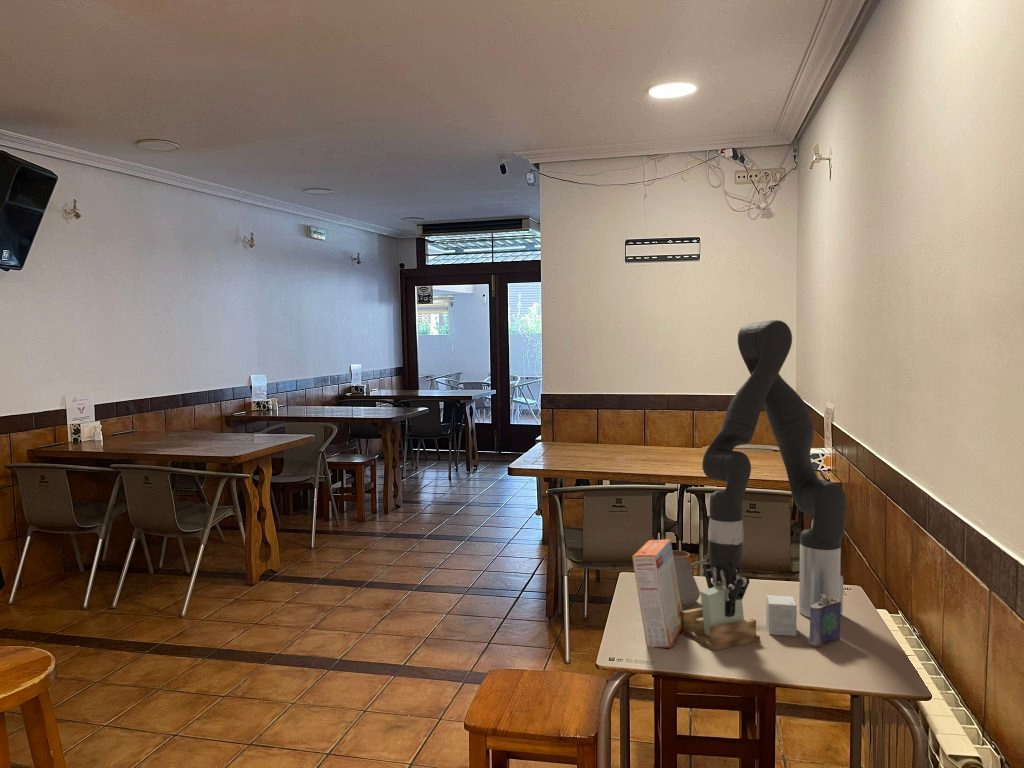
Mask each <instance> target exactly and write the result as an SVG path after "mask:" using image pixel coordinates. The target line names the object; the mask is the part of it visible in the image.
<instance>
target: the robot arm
mask: <svg viewBox="0 0 1024 768" xmlns="http://www.w3.org/2000/svg"><path fill="white" fill-rule="evenodd" d="M792 343H793V334H792V331H791V328H790V327H789V325H788V324H787V323H786V322H784V321H782V320H779V319H774V320H773V319H772V320H764V321H757V322H756V321H755V322H751V323H746V324H744V325H742V326H741V327H740V329H739V330H738V333H737V345H738V349H739V353H740V355H741V357H742V360H743V362H744V364H745V366H746V367H747V371H748V372H749V374H750V376H749V377H748V378H747V380H745V382H744V383H743V385H742V386H741V387H740V388H739V389H738V390H737V392H736V393H735V394H734V395H733V397H732V399H731V400H730V403H729V404H728V407H727V410H726V413H725V417H724V420H723V422H722V425H721V428H720V430H719V431H718V432H717V434H716V435H715V437H714V439H713V440H712V441H711V443H710V444H709V446H708V447H707V449H706V451H705V452H704V454H703V457H702V458H703V459H702V471H703V473H704V475H705V476H706V477H707V478H708V479H711V480H714V481H715V480H716V481H721V482H726V487H725V489H724V490H717V491H716V490H715V491H714V492H711V495H710V496H709V521H708V522H709V523H708V527H707V528H708V531H707V532H708V535H707V536H708V538H707V541H708V542H707V543H708V547H707V549H708V550H707V551H708V552H707V556H708V558H710V559H711V561H710V562H706V563H703V564H702V569H703V573H704V577H705V579H706V580H705V581H706V585H707V589H709V588H713V587H716V586H720V585H722V588H723V590H725V599H726V600H725V616H727V617H732V616H734V614H735V601H736V600H741V599H742V600H743V598H745V597H744V596H745V594H746V592H747V588H748V587H749V583H750V578H749V577H745V576H743V573H741V572H742V570H741V566H740V563H741V561H743V559H744V525H743V501H744V499H745V498H744V497H745V495H746V494H745V493H746V490H747V486H748V484H749V479H750V477H751V471H752V465H751V460H750V458H749V456H748V455H747V454H745V453H744V452H741V451H737V450H734V448H736V447H738V446H743V445H748V444H749V443H750V442H751V441H752V439H753V436H754V434H755V431H756V427H757V424H758V421H759V418H760V415H761V411H762V409H763V408H764V411H765V414H766V417H767V419H768V423H769V426H770V428H771V431H772V434H773V436H774V439H775V441H776V444H777V446H778V449H779V452H780V456H781V459H782V462H783V464H784V468H785V471H786V475H787V479H788V483H789V487H790V488H789V489H790V492H791V496H792V499H793V502H794V505H795V506H796V508H797V509H798V510H799V511H800V512H802V513H804V514H805V515H808V516H812V517H813V523H812V528H808V529H807V528H806V529H804V530H802V531H801V532H800V534H799V593H798V595H799V596H798V597H799V599H798V601H799V603H798V604H799V605H798V611H799V613H800V614H801V615H802V616H805V617H806V618H809V619H810V606H811V605H813V604H815V603H818V602H820V601H821V598H822V596H823V595H822V596H821V595H820V594H824V595H826V596H827V597H828V598H827V599H830V598H833V599H837V600H840V601H841V613H840V616H842V615H843V614H844V611H843V610H844V609H843V608H844V577H843V576H842V575H841V554H842V553H841V548H842V547H841V546H842V544H841V543H842V539H843V537H844V535H845V529H846V514H847V497H846V496H847V495H846V492H845V490H844V489H843V486H841V485H840V484H839V483H837V482H834V481H829V480H825V479H820V478H819V477H818V475H817V473H816V471H815V469H814V466H813V463H812V460H811V450H812V445H813V441H814V437H815V428H814V425H813V421H812V418H811V414H810V412H809V410H808V406H807V404H806V402H805V401H804V399H803V398H802V397H801V396H800V395H799V394H798V393H797V392H796V390H794V388H792V387H791V385H789V384H788V383H787V382H786V380H785V379H783V378H782V376H781V375H780V371H781V369H782V367H783V366H784V364H785V362H786V359H787V357H788V355H789V353H790V351H791V348H792ZM730 584H732V585H730ZM728 585H730V586H728ZM730 590H732V594H731V595H730ZM819 595H820V596H819ZM841 614H842V615H841Z"/></svg>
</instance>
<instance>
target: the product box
mask: <svg viewBox="0 0 1024 768" xmlns="http://www.w3.org/2000/svg"><path fill="white" fill-rule="evenodd" d="M765 605H766V609H765V610H766V611H765V612H766V614H765V615H766V617H765V623H766V628H767V630H768V631H767V633H768V635H774V636H775V635H777V636H789V637H797V634H798V633H797V616H798V615H797V611H798V610H797V604H796V602H795V599H794V597H793V596H786V595H785V596H783V595H771V594H767V595H766V603H765Z"/></svg>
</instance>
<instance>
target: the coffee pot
mask: <svg viewBox="0 0 1024 768" xmlns="http://www.w3.org/2000/svg"><path fill="white" fill-rule="evenodd" d="M672 551H673V558H674V564H675V570H676V577H677V583H678V589H679V596H680V602H681V608H682V609H684V608H689V607H691V606H693V605H694V604H695V603H696V602H697V601H699V598H700V597H701V592H700V589H699V587H698V584H697V582H696V581H697V580H696V579H695V577H694V575H693V573H692V570H691V568H694V567H697V566H700V565H703V564H705V563H710V562H711V559H710V558H709V557H708V558H705V559H702V560H699V561H695V562H692V563H688V562H689V558H690V557H691V553H689V552H687V551H685V550H676V549H675V550H673V549H672Z"/></svg>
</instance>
